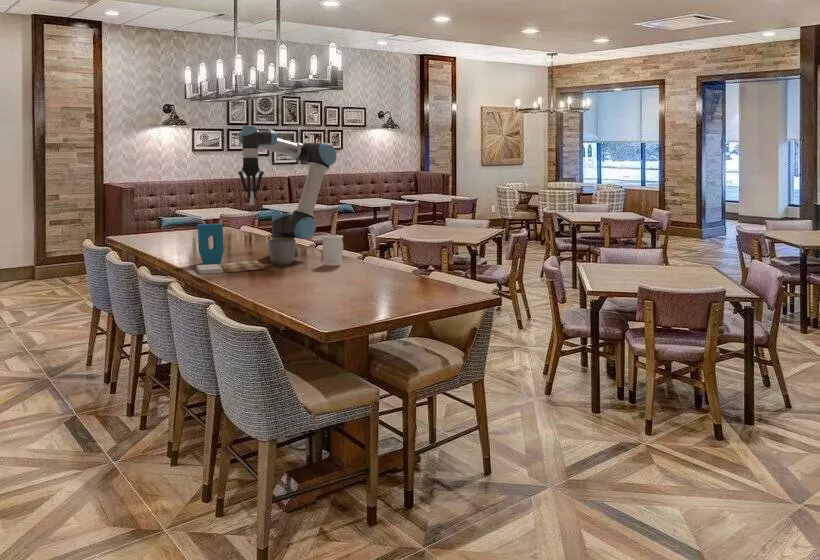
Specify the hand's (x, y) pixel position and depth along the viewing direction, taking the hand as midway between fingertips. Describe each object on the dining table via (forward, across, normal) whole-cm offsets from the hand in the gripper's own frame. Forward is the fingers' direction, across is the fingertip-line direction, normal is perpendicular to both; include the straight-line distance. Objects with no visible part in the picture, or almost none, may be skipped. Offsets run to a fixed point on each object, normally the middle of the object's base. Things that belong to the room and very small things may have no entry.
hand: (251, 204), depth 384 cm
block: (+31, +19, -13) cm, 38 cm away
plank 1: (+30, +9, +8) cm, 32 cm away
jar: (+31, -37, +16) cm, 51 cm away
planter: (+31, -13, +7) cm, 34 cm away
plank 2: (+30, +9, +16) cm, 35 cm away
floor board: (+30, +24, +12) cm, 41 cm away
